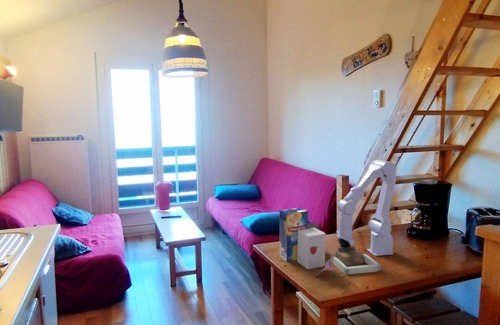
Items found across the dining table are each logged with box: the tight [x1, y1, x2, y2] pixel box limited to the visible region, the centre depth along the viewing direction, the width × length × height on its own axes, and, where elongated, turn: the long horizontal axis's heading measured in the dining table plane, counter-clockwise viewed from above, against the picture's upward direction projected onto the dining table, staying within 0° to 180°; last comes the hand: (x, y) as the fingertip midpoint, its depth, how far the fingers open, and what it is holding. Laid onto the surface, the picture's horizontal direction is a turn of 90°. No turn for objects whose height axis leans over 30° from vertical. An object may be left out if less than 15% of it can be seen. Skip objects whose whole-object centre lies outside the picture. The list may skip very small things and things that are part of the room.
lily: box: [315, 256, 339, 279], centre depth 149 cm, size 12×12×10 cm
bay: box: [332, 253, 382, 276], centre depth 158 cm, size 16×12×2 cm
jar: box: [308, 222, 320, 230], centre depth 177 cm, size 9×8×12 cm
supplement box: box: [296, 228, 327, 270], centre depth 160 cm, size 9×9×15 cm
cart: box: [333, 245, 365, 266], centre depth 163 cm, size 11×7×6 cm, turn 101°
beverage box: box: [278, 207, 309, 263], centre depth 168 cm, size 7×11×22 cm, turn 115°
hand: (344, 254), depth 168 cm, fingers closed
